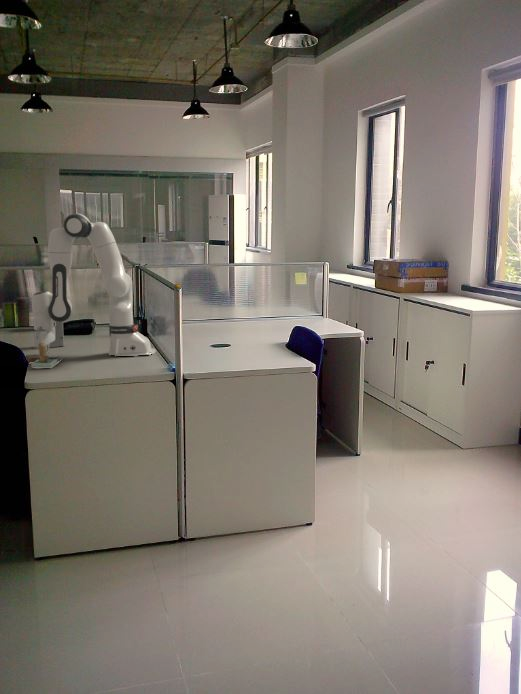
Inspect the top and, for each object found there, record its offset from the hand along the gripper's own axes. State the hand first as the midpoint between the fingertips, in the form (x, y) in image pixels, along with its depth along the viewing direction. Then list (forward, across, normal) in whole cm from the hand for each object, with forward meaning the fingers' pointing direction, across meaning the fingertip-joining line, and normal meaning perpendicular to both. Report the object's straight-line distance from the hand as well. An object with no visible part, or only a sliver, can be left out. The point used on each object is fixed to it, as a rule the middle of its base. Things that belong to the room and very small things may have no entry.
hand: (46, 353), depth 323 cm
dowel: (+1, -21, -6) cm, 22 cm away
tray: (+2, -21, -6) cm, 22 cm away
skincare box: (+2, +27, +4) cm, 28 cm away
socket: (+2, -13, -7) cm, 15 cm away
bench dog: (+2, -14, 0) cm, 14 cm away
